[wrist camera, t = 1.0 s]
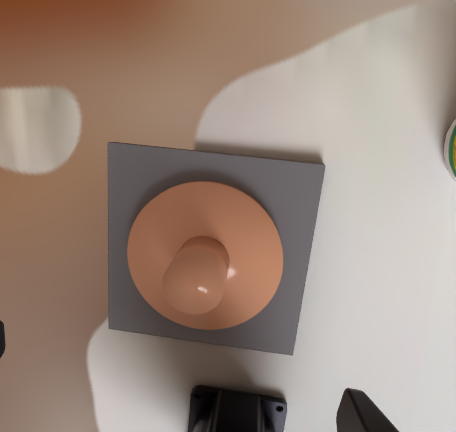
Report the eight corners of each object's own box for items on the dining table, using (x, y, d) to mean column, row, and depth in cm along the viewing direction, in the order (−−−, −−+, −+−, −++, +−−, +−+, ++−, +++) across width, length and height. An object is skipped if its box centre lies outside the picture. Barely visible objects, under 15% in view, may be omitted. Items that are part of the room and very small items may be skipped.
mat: (291, 349, 22) (292, 355, 21) (112, 323, 23) (108, 328, 22) (323, 163, 19) (325, 165, 18) (112, 141, 19) (107, 142, 19)
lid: (272, 331, 21) (274, 378, 17) (131, 312, 22) (103, 353, 18) (292, 189, 18) (300, 206, 15) (133, 172, 19) (100, 184, 15)
